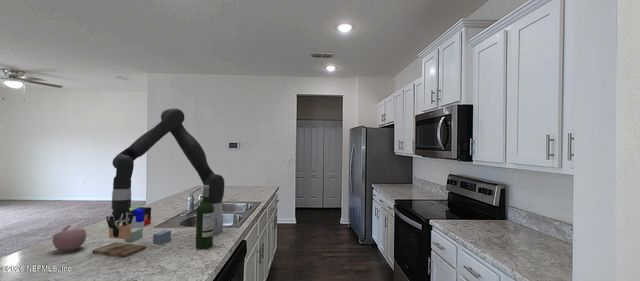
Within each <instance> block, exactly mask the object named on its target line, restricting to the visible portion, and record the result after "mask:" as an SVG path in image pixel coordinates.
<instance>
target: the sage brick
mask: <svg viewBox="0 0 640 281" xmlns="http://www.w3.org/2000/svg"><path fill="white" fill-rule="evenodd" d="M143 230H144V227H142V228H131V237H129V238H126V239H124V243H133V242H136V241H138V240H141V239H142V238H143V234H144V233H143Z"/></svg>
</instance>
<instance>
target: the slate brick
mask: <svg viewBox="0 0 640 281" xmlns="http://www.w3.org/2000/svg"><path fill="white" fill-rule="evenodd" d="M171 240H172V230H167V229H162V230H161V231H159V232H155V233H153V234H152V245H163V244H165V243H167V242H170V241H171Z"/></svg>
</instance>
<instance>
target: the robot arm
mask: <svg viewBox="0 0 640 281" xmlns="http://www.w3.org/2000/svg"><path fill="white" fill-rule="evenodd" d="M160 119H161V121H160V122H158V124H156V125H155V126H154V127H152V128H150V129H149V130H148V131H146V132H145V133H143V134H142V135H140V136H139V137H138V138H137V139H136V140H135V141H134V142H133V143H132V144H130V145H129V147H126V148H125V149H124V150H122V151H121V152H119V153H118V154H117V155H115V157H114V158H113V159H112V166H113V167H114V168H115V169H116V170H115V176H114V177H113V183H112V187H113V188H112V193H111V210H112V212H111V215H107V216H106V217H105V219H106V223H107V225H108V228H112V229H113V236H114V237H118V236H119V229H118V228H119V225H125V226H128V225H129V224H131V223H132V220H133V217H134V213H135V211H130V208H132V177H133V172H134V166H135V162H134V161H135V160H136V159H138V158H140V157H142V156H143V155H145V154H146V153H147V152H148V151H149V150H150V149H152V148H153V147H154V146H155V145H156V144H157V143H158V142H159V141H160V140H162V138H164V137H165V136H166V135H168V133H170V134H171V135H172V137H173V138H174V139H175V142H177V144H178V146H179V147H180V149H181V150H182V153H183V154H184V156H185V157H186V159H187V160H188V162H189V163H190V164H191V165H192V167H193V168H194V170H195V171H196V173H197V175H198V177H199V178H200V180H201V183H202V184H203V186H204V185H209V202H210V203H211V204H212V205H213V207H214V220H213V236H215V235H217V236H218V235H219V234H221V233H223V230H224V228H223V227H224V226H223V225H224V215H223V214H222V212H223V211H222V210H223V198H224V196H225V195H224V194H225V178H224V176H222V175H221V174H217V173H215V172H214V171H213V170H212V168H211V167H210V165H209V162H208V161H207V155H206V153H205V150H204V149H203V147H202V145H201V144H200V142H198V140H197V139H196V138H195V137H194V136H193V135H192V134H190V133H189V132H188V131H187V129H186V128H185V126H184V125H183V123H184V122H185V113H184V112H183V111H182V109H179V108H175V107H174V108H168V109H165V110H163V111H162V112H161V114H160ZM129 218H130V221H129Z"/></svg>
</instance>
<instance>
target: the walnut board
mask: <svg viewBox="0 0 640 281" xmlns="http://www.w3.org/2000/svg"><path fill="white" fill-rule="evenodd" d="M146 247H147V246H146V245H145V244H144V245H142V244H134V243H128V242H113V243H109V244H106V245H104V246H100V247H98V248H95V249H92V254H94V255H100V256H101V255H102V256H110V257H117V258H124V259H125V258H127V257H129V256H132V255H134V254H137V253H139V252H141V251H144V250H146Z"/></svg>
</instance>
